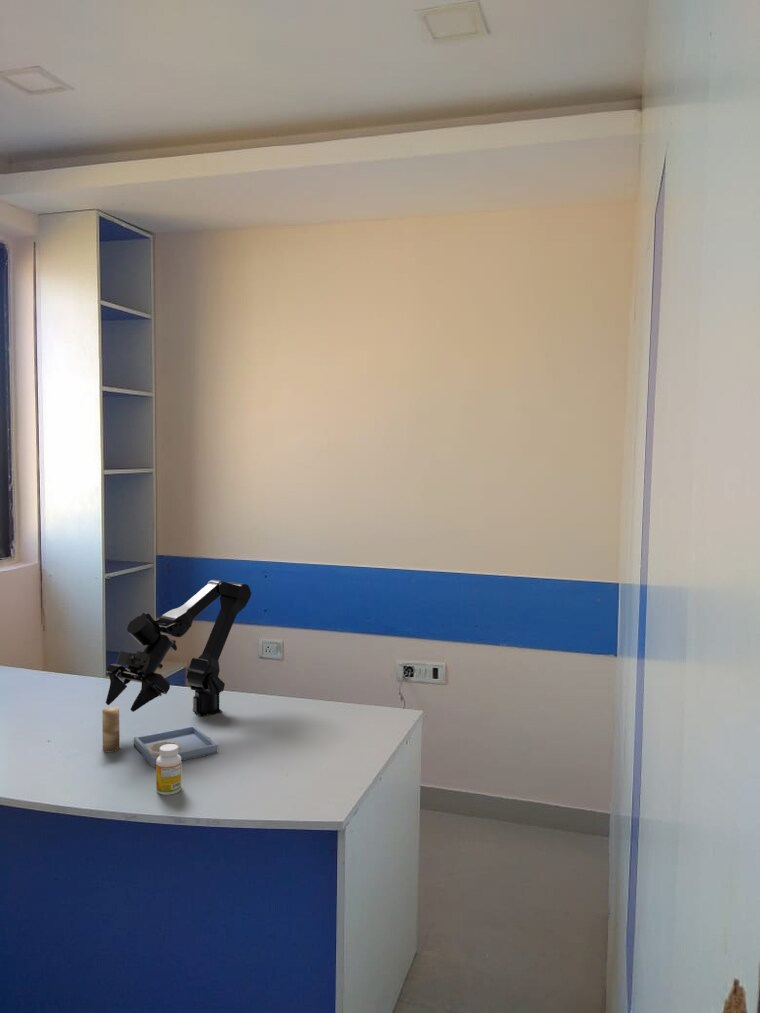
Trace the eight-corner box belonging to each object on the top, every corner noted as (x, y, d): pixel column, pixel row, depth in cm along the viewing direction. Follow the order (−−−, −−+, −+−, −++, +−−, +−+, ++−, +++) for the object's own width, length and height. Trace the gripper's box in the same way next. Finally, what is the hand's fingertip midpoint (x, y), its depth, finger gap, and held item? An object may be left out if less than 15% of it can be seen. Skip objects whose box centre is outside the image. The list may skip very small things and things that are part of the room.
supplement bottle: (159, 784, 170) (158, 742, 170) (183, 784, 171) (183, 742, 170) (153, 795, 165) (153, 752, 164) (179, 795, 165) (179, 751, 165)
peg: (117, 744, 193) (116, 706, 193) (121, 749, 190) (121, 710, 189) (100, 747, 191) (100, 709, 190) (105, 753, 188) (104, 713, 187)
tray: (194, 732, 202) (194, 723, 202) (217, 752, 189) (217, 742, 189) (133, 744, 193) (133, 735, 193) (153, 766, 180) (153, 756, 180)
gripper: (111, 633, 200) (75, 684, 192) (161, 643, 191) (126, 697, 182) (134, 656, 208) (101, 706, 199) (184, 667, 198) (151, 720, 189)
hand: (119, 707), depth 192 cm, fingers open, 9 cm apart
